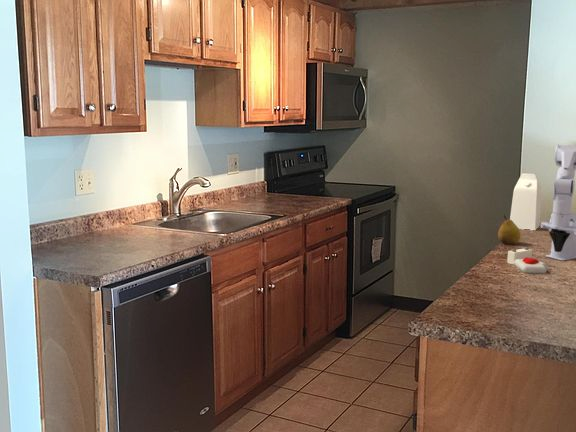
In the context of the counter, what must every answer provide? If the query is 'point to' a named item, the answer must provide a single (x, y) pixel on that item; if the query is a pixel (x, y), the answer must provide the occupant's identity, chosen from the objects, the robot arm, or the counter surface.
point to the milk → (526, 202)
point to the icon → (530, 265)
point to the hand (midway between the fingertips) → (558, 251)
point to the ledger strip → (519, 254)
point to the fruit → (508, 232)
